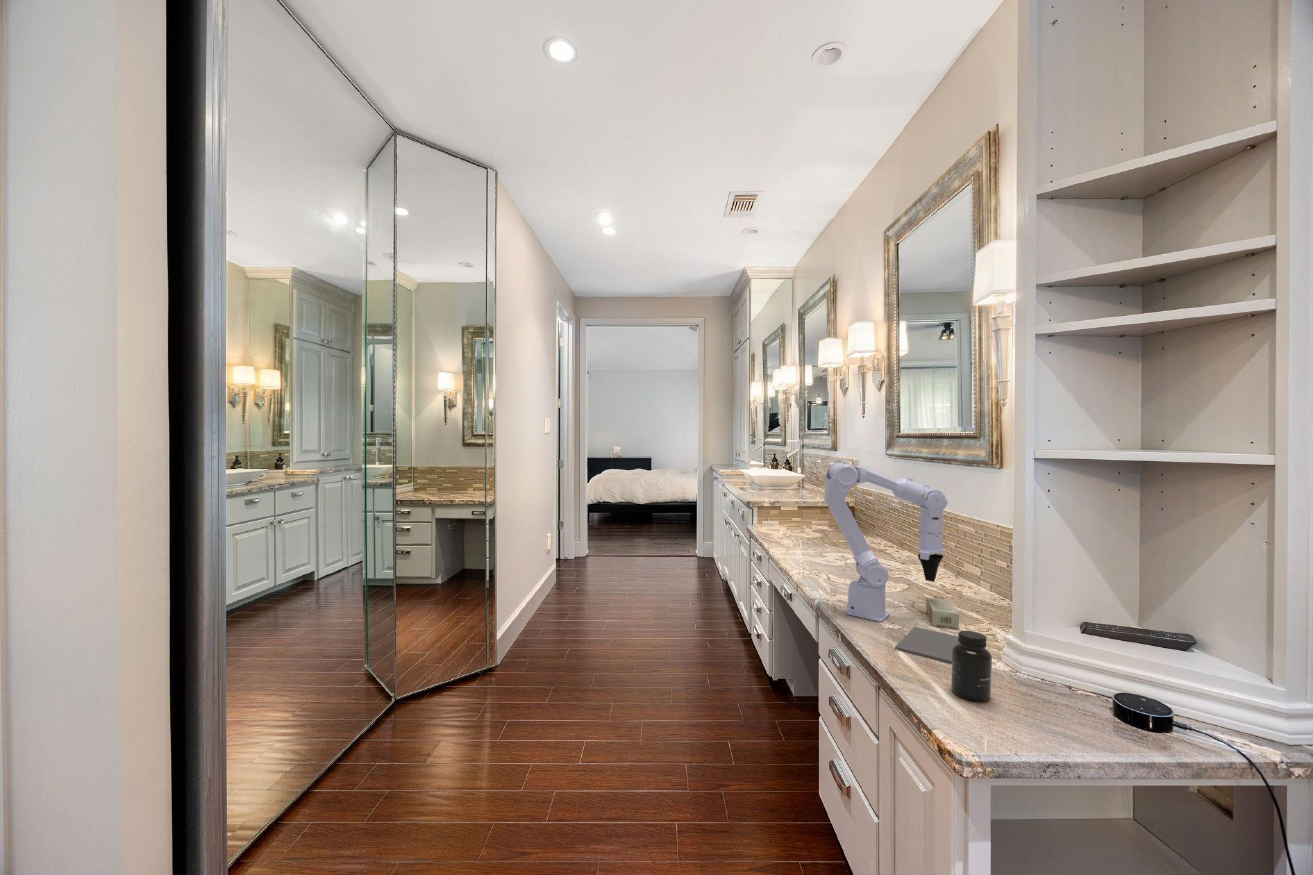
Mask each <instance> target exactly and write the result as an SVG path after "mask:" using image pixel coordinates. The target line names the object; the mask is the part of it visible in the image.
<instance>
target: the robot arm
mask: <svg viewBox="0 0 1313 875" xmlns="http://www.w3.org/2000/svg"><path fill="white" fill-rule="evenodd" d="M824 480H825V482H824V483H825V485H824V486H825V487H824V495H823V496H824V501H825V504H826V505H827V507H828V509H829V512H830V513H831V515H832V517H833V518H834V520H835V522H836V524H837V527H838V528H839V530H840V532H841V534H842V535H843V538H844V540H845V541H846V543H847V545H848V547H849V548H850V549H849V550H850V552H851V553H852V556H853V559H854V561H855V568H856V573H857V574H858V575H859V577H858V580H851V581H850V583H849V586H848V591H847V592H848V593H847V594H848V595H847V596H848V597H847V600H848V601H847V612H846V614H847V615H850V616H853V617H859V618H863V619H867V620H870V621H871V620H872V621H876V622H881V623H882V622H883V621H884V620H885V619H887V618H888V617H889V616H890V614H891V613H890V612H888V611H886V584H887V582H888V581H889V571H888V569H887V568H886V567H885V566H884V565H883V564H881V563H880V562H879V560H878V558H877V556H876V555H875V554H874V553H873V551H872V550H871V547H870V545H869V544H868V542H867V540H866V538H865V536H864V535H863V533H862V531H861V529H860V527H859V525H858V523H857V521H856V520H855V517H854V515H853V514H852V512H851V510H850V508H849V506H848V504H847V502H846V497H847V496H848V493H849V492H850V490H851V489H852V488H853V487H854V486H855V485H856V484H864V483H870V484H872V485H876V486H879V487H881V488H885V489H888V490H890V491H892V493H893V495H894V497H895V498H898V499H900V500H902V501H903V500H904V501H906V502H908V503H911V504H914V505H917V506H919V507H920V508H919V543H918V544H919V546H918V551H919V552H920V553H918V554H917V557H918V560H919V562H920V564H921V567H922V570H923V576H924V579H925V581H926V582H931V583H932V582H935V581H936V578H937V573H938V570H939V566H940V563H941V561H942V560H943V558H944V555H942V554H941V553H943V554H946V553H948V549H946V548H943V534H944V533H943V532H944V531H943V530H944V528H943V527H944V510H945V509H946V507H947V505H948V500H947V498H946V495H945V494H944V493H943V492H942V491H941V490H938V489H933V488H931V487H930V485H928V484H921V483H918V482H915V481H914V479H913V478H910V477H906V478H904V477H901V478H899V479H894V478H891V477H889V476H886V475H885V474H882V473H879V472H876V471H874V470H872V469H869V468H866V467H864V466H863V467H862V466H859V465H858V466H857V465H853V464H849V463H845V462H844V463H843V462H840V461H838V462H837V461H836V462H833V463H832V464H831V465H830V466H829V467H828V469H827V471H826V473H825V476H824Z"/></svg>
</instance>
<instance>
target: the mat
mask: <svg viewBox="0 0 1313 875" xmlns="http://www.w3.org/2000/svg"><path fill="white" fill-rule="evenodd" d="M958 637H959V635H953V634H949V633H945V632H940V631H935V630H931V629H927V628H923V627H918V626H913V627H912V628H911V629H910V630H909V632H907V633H906V635H905V636H903V638H902V639H901V640H900V641H899V642H898V643H897V644H896V645H895V646H894V650H896V649H898V650H897V651H899V652H900V651H901V652H905V653H908V654H912V655H915V654H916V656H920V657H924V658H928V659H933V660H936V661H939V662H944V663H947V664H951V665H952V650H953V647H954V646H955V645H956V644H959V642H958Z"/></svg>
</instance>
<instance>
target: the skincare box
mask: <svg viewBox="0 0 1313 875" xmlns="http://www.w3.org/2000/svg"><path fill="white" fill-rule="evenodd" d="M925 611H926V613H927V616H928V618H929V619H930V621H931V624H932V626H933V627H934V628H935V627H936V628H944V629H955V630H959V629H960V613H959V612H958V610H957V609H956V607H955V605H954V604H953V603H952V601H951V600H950V599H947V598H946V599H945V598H938V597H928V596H927V597H926V599H925Z"/></svg>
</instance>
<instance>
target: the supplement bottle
mask: <svg viewBox="0 0 1313 875" xmlns="http://www.w3.org/2000/svg"><path fill="white" fill-rule="evenodd" d="M958 636H959V637H958V642H959V644H956V645H955V646H954V647H953V650H952V664H951V681H950V684H951V685H950V686H951V690H952V692H953V693H954V694H955V695H956V696H958V697H959V698H962V699H965V700H967V701H972V702H979V703H981V702H982V703H983V702H987V701H989V700H990V698H991V694H992V692H991V691H992V668H993V667H992V665H993V664H992V663H993V661H992V660H993V658H992V657H993V656H992V654H991V652H990V650H988V649H987V637H986V635H985V634H983V633H981V632H978V631H973V630H960V631H959V632H958Z"/></svg>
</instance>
